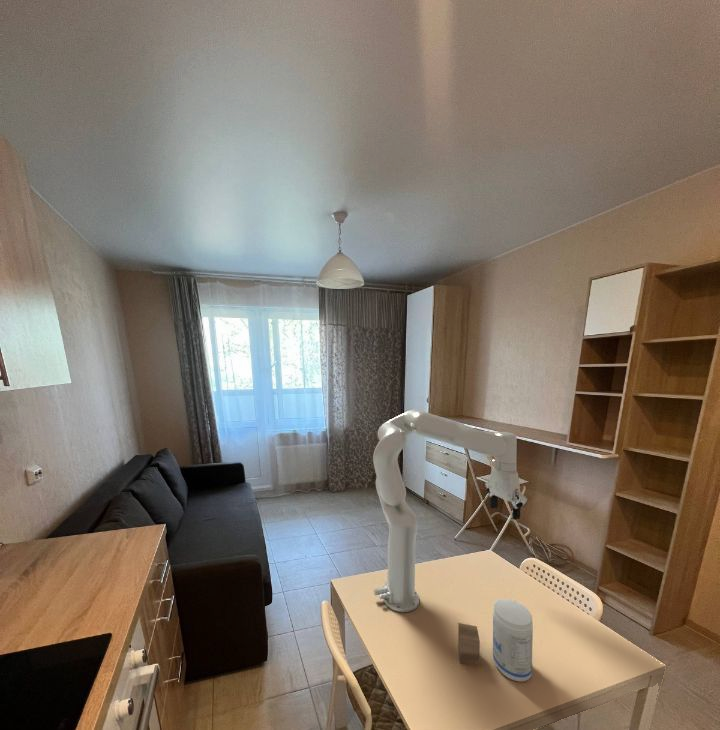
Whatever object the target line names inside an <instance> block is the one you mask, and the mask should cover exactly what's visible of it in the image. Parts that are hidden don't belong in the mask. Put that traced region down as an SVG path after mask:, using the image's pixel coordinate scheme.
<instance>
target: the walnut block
mask: <svg viewBox="0 0 720 730" xmlns="http://www.w3.org/2000/svg"><path fill="white" fill-rule="evenodd" d="M457 623H458V629H457V630H458V632H457V634H458V635H457V637H458V639H457V641H458V644H457V647H458V658H459V664H460V665H462V666H463V665H464V666H469V667H474V668H478V669H480V666H481V665H480V657H481V655H480V654H481V653H480V651H481V650H480V648H481V647H480V645H481V643H480V641H481V640H480V635H479V629H478V626H476V625H471V624H466V623H461V622H457Z"/></svg>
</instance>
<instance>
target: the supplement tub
mask: <svg viewBox="0 0 720 730" xmlns="http://www.w3.org/2000/svg"><path fill="white" fill-rule="evenodd" d="M492 614H493V615H492V617H493V619H492V620H493V621H492V660H493V662H494V664H495V666H496V668H497V669H498V671H499V672H500V673H501V674H502V675H504V676H505V677H506V678H508V679H509V680H512V681H515V682H520V683H521V682H526V681H528V680H530V679H531V677H532V676H533V675H532V674H533V642H534V641H533V638H534V637H533V627H534V626H533V616H532V614H531V611H530V610H529V609H528V608H527V607H526V606H524V605H523V604H522V603H520V602H518V601H516V600H512V599H508V598H500V599H497V600H496V601H495V602H494V605H493V613H492Z"/></svg>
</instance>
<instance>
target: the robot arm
mask: <svg viewBox="0 0 720 730" xmlns="http://www.w3.org/2000/svg"><path fill="white" fill-rule="evenodd" d="M413 433H414V434H416V435H418V436H421V437H425V438H429V439H433V440H435V441H439V442H442V443H445V444H449V445H451V446H454V447H458V448H463V449H465V450H469V451H472V452H475V453H479V454H481V455H482V454H483V455H485V456H489V457H493V459H492V463H493V466H492V468H491V472H490V477H489V481H487V482H485V483H484V484H485V487H486V491H487V493H488V497H489V498H490V499H489V502H490V505H489V507H490V508H491V509H497V508H498V507H499V505H498V500H499V499H498V498H500V499H503V500H504V501H507V502H510V503H511V504H512V506H513V507H512V509H511V510H512V516H511V517H512V520H514V521H515V520H519V519H520V518H521V509H522V508H523V507H524V506H525V505H526V503H527V501H528V498H527V497H526V496H525V495H524V494H523V493H522V492H521V487H520V479H519V473H518V471H517V453H518V452H517V444H518V443H517V436H516V434H515V433H513V432H509V431H497V432H494V431H487V430H486V431H485V430H480V429H477V428H474V427H472V426H469V425H466V424H464V423H461V422H460V421H457V420H453V419H450V418H446V417H442V416H439V415H436V414H432V413H430V412H427V411H422V410H420V409H409V410H408V411H405V412H404V413H401V414H399V415H398V416H395V417H394V418H392V419H389V420H387V421H386V422H383V423H382V424H381V425H380V426H379V428H378V430H377V438H378V442H377V444H376V446H375V448H374V451H373V456H372V463H373V468H374V471H375V475H376V479H375V488H376V493H377V495H378V498H379V502H380V506H381V509H382V512H383V515H384V517H385V520H386V522H387V524H388V529H389V533H388V534H389V535H388V539H387V576H386V577H387V578H386V579H387V581H385V582H384V585H383V586H382V587H377V588H373V595H374V596H379V599H380V600H382V601H383V603H384V604H385V606H386V607H388V608H389V609H391V610H392V611H394V612H399V613H408V612H412V611H414V610H415V609H416V608H418V606H419V604H420V595H419V593H418V592H417V591H416V587H415V586H416V539H417V534H418V520H417V517H416V515H415V513H414V512H413V510H412V509H411V507H410V506H409V504H408V503H407V501H406V496H407V489H406V486H405V483H404V480H403V479H404V478H403V476H402V473H401V469H400V466H399V460H398V459H399V456H400V453H401V451H402V450H403V448H404V447H405V446H406V443H407V436H409V435H411V434H413Z"/></svg>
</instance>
